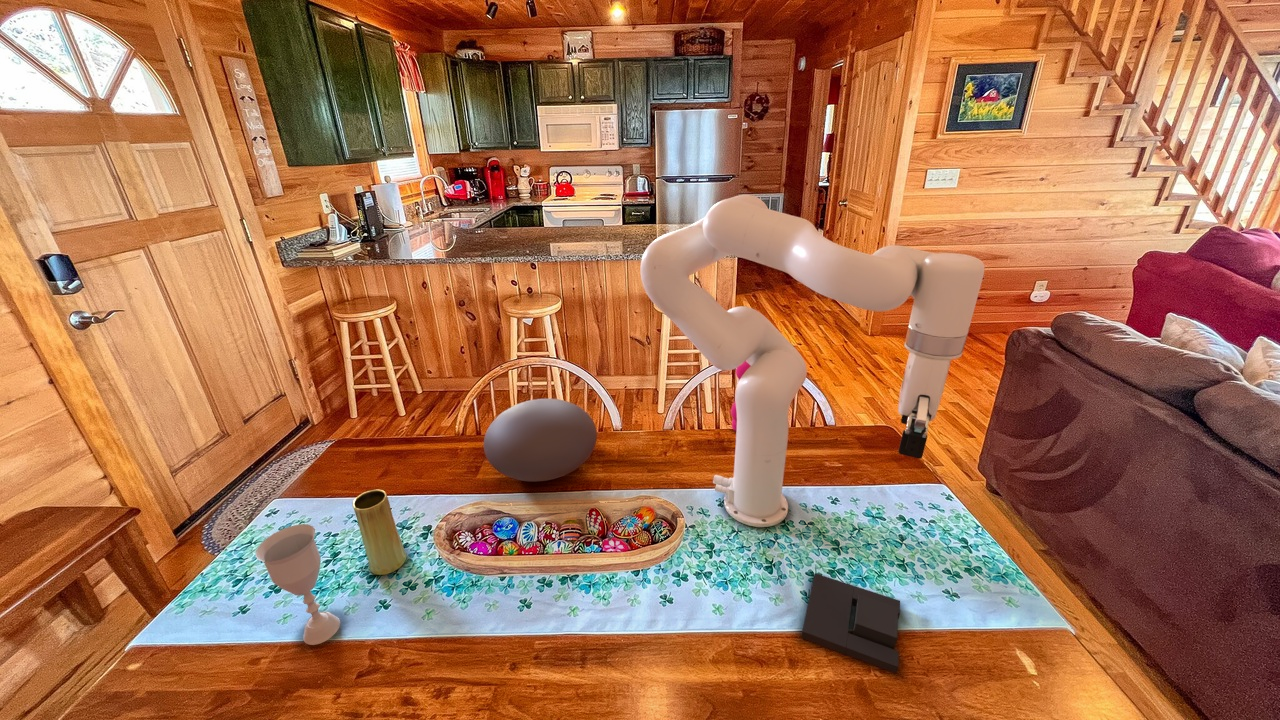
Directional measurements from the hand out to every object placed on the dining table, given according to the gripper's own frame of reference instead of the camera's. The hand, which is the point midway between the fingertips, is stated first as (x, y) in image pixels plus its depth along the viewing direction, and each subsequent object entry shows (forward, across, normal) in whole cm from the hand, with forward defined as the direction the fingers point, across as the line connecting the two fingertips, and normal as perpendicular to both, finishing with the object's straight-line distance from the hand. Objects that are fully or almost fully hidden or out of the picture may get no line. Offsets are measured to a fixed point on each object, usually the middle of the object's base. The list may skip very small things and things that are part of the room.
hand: (910, 439), depth 81 cm
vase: (+25, +41, -79) cm, 92 cm away
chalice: (+25, +55, -77) cm, 98 cm away
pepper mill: (+24, -30, -34) cm, 52 cm away
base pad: (+24, +18, -3) cm, 30 cm away
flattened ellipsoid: (+25, +5, -71) cm, 75 cm away
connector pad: (+24, +18, 0) cm, 30 cm away
